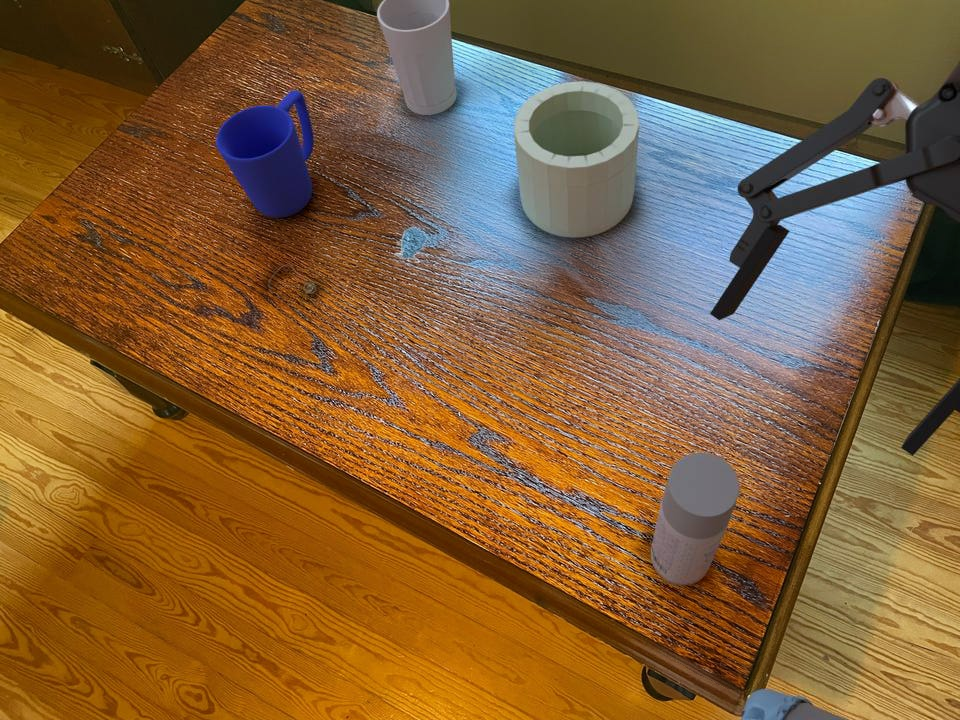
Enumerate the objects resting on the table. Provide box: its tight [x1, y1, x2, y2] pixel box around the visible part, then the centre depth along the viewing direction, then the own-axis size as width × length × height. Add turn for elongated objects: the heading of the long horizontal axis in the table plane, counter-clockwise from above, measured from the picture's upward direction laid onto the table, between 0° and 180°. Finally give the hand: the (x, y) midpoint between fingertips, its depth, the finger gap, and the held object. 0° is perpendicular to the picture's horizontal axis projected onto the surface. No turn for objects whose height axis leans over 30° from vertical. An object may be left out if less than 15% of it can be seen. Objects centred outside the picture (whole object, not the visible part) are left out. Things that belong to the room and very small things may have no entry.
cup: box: [376, 0, 458, 116], centre depth 91 cm, size 8×8×12 cm
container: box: [650, 452, 740, 586], centre depth 57 cm, size 5×5×15 cm
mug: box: [215, 89, 315, 219], centre depth 86 cm, size 8×12×10 cm
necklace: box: [268, 264, 317, 294], centre depth 82 cm, size 3×5×1 cm, turn 81°
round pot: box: [513, 80, 640, 239], centre depth 80 cm, size 12×12×10 cm
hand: (810, 376), depth 49 cm, fingers open, 13 cm apart
